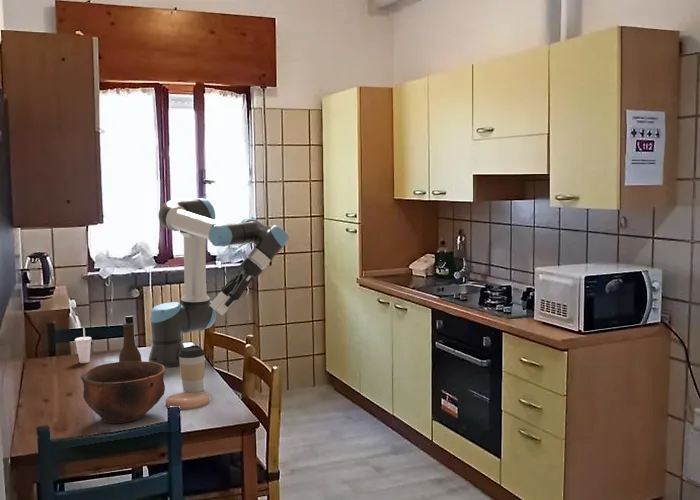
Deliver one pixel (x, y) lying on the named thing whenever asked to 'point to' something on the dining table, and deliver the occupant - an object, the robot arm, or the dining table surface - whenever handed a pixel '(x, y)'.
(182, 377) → the coffee cup
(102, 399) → the bowl
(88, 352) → the smoothie
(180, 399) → the saucer
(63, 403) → the dining table surface
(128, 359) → the beer bottle
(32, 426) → the dining table surface
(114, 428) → the dining table surface
